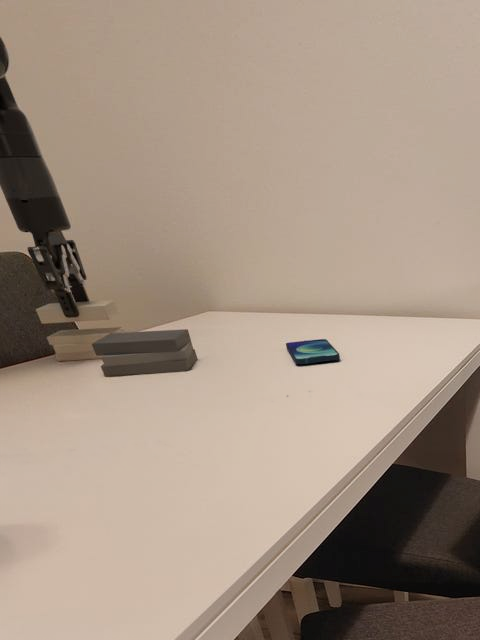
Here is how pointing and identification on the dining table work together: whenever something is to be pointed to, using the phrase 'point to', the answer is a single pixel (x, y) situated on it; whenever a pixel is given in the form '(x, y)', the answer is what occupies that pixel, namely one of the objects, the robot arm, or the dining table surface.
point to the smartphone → (312, 351)
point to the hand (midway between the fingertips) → (79, 313)
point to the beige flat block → (85, 309)
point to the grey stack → (145, 352)
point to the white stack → (78, 342)
